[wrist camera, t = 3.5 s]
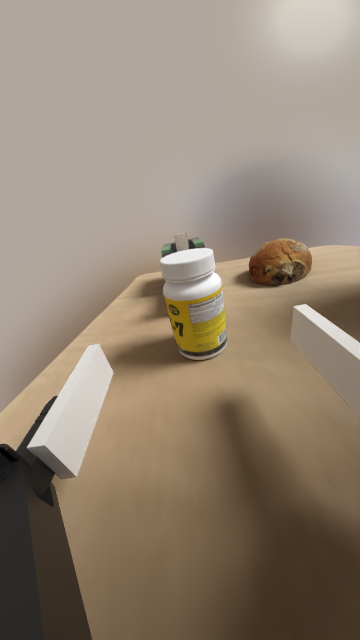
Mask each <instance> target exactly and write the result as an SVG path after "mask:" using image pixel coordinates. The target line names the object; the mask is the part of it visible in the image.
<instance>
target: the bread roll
mask: <svg viewBox="0 0 360 640" xmlns="http://www.w3.org/2000/svg"><path fill="white" fill-rule="evenodd" d="M311 265H312V257H311V253H310V251H309V249H308V248H307V247H306V246H305V245H304V244H302V243H300V242H298V241H295V240H292V239H287V238H286V239H285V238H280V239H276V240H274V241H270V242H265V243H264V244H263V245H262V246H261V247H260V248H259V250H258V251H257V252H256V253H255V254H253V255H252V256H251V258H250V262H249V272H250V277H251V280H253V281H254V282H256V283H259V284H267V285H278V284H287V283H292V282H295V281H298V280H300V279H301V278H303V277H305V276H306V275H307V273H309V272H310V270H311Z"/></svg>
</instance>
